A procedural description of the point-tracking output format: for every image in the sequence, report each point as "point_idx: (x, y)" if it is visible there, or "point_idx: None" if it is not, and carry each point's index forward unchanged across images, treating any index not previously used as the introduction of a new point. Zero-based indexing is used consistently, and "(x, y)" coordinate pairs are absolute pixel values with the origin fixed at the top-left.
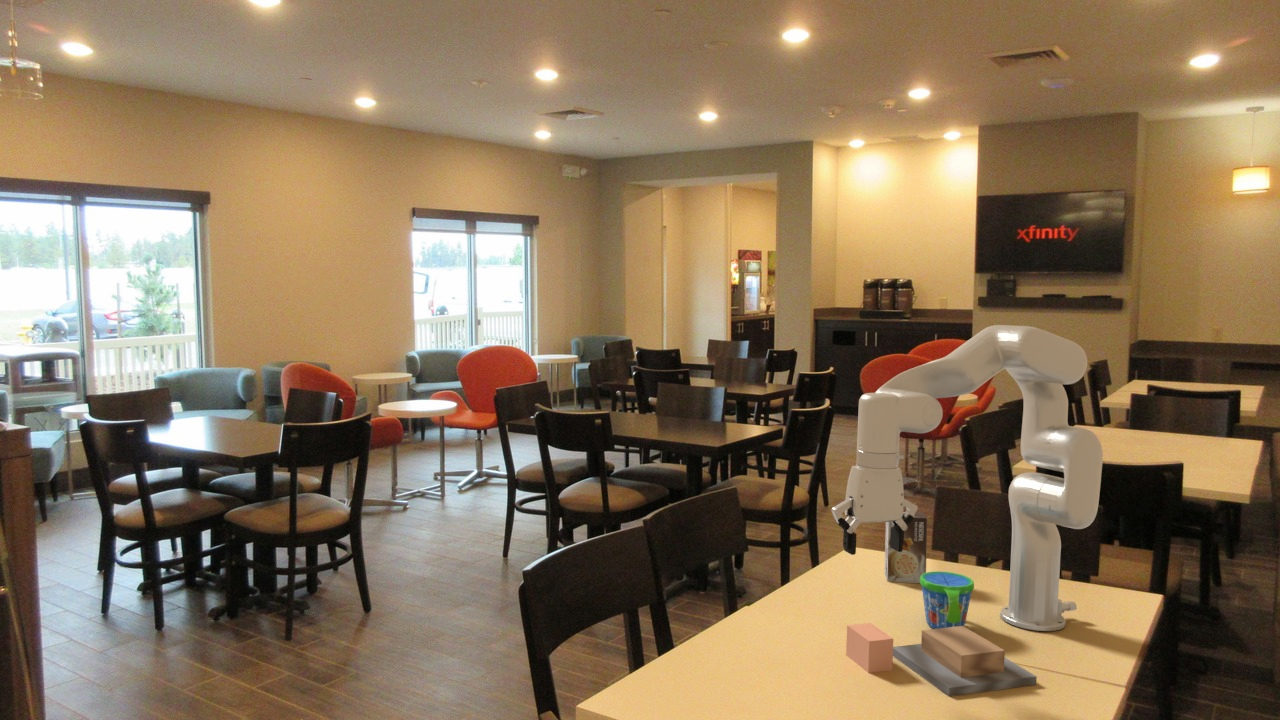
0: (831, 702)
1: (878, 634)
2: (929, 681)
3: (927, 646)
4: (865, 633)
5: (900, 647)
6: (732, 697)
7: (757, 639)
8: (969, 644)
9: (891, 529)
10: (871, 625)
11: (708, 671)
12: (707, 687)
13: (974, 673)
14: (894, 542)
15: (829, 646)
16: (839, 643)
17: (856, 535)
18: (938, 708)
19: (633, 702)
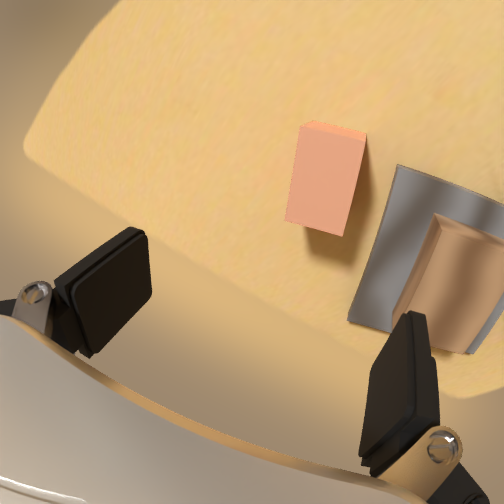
0: (191, 242)
1: (330, 204)
2: (363, 274)
3: (429, 238)
4: (306, 185)
5: (413, 179)
6: (100, 177)
7: (198, 6)
8: (447, 318)
9: (400, 408)
10: (355, 155)
11: (96, 103)
12: (86, 144)
13: None
14: (384, 371)
15: (308, 72)
16: (338, 69)
17: (98, 352)
18: (307, 321)
19: (40, 152)
